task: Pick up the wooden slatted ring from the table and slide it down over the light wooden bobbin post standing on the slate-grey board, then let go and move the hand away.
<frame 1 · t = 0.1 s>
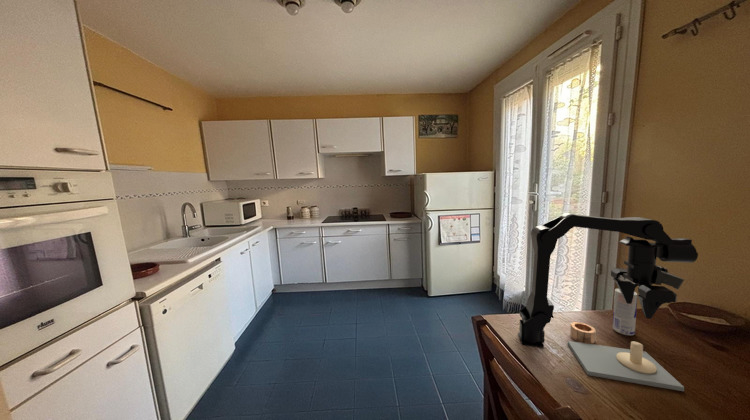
hand: (637, 310, 75), 15 cm above the table, fingers open, 9 cm apart
beverage can: (623, 332, 88), on the table
wooden slatted ring: (582, 338, 86), on the table
bobbin board: (617, 364, 73), on the table
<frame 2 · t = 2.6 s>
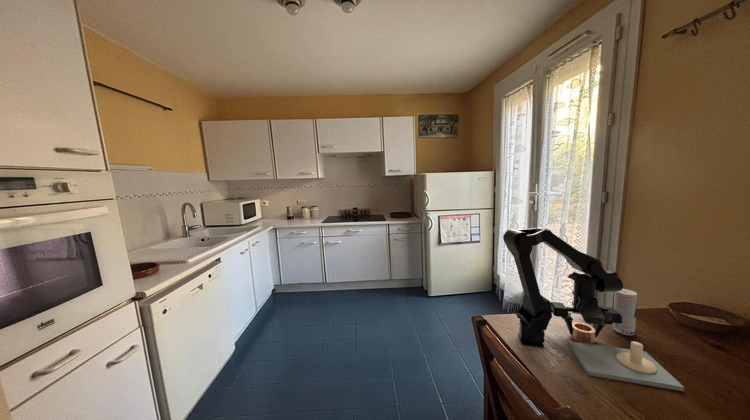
hand: (582, 335, 86), 1 cm above the table, fingers closed on wooden slatted ring, 6 cm apart
wooden slatted ring: (582, 338, 86), on the table, touching gripper
everything else where it was.
when the fingers open (5 cm above the table, at t = 7.0 s): wooden slatted ring drops 3 cm, resting on bobbin board.
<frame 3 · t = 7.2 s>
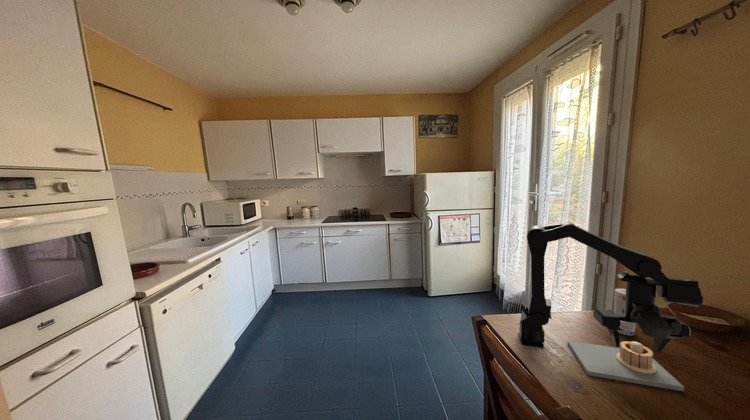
hand: (636, 349, 71), 5 cm above the table, fingers open, 9 cm apart
wooden slatted ring: (635, 361, 72), point 2 cm above the table, touching bobbin board
everything else where it was.
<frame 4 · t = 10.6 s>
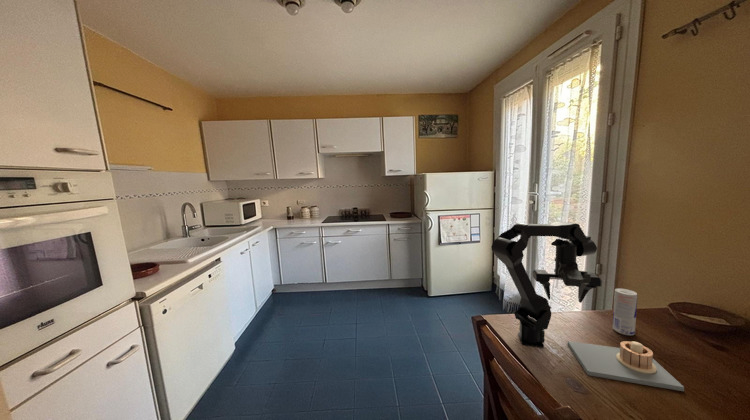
hand: (564, 300, 88), 12 cm above the table, fingers open, 9 cm apart
nothing on the table moved.
at the end: wooden slatted ring 0.1 cm from the target spot on the bobbin board, point 1.8 cm above the bobbin board's base; the gripper is holding nothing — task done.
